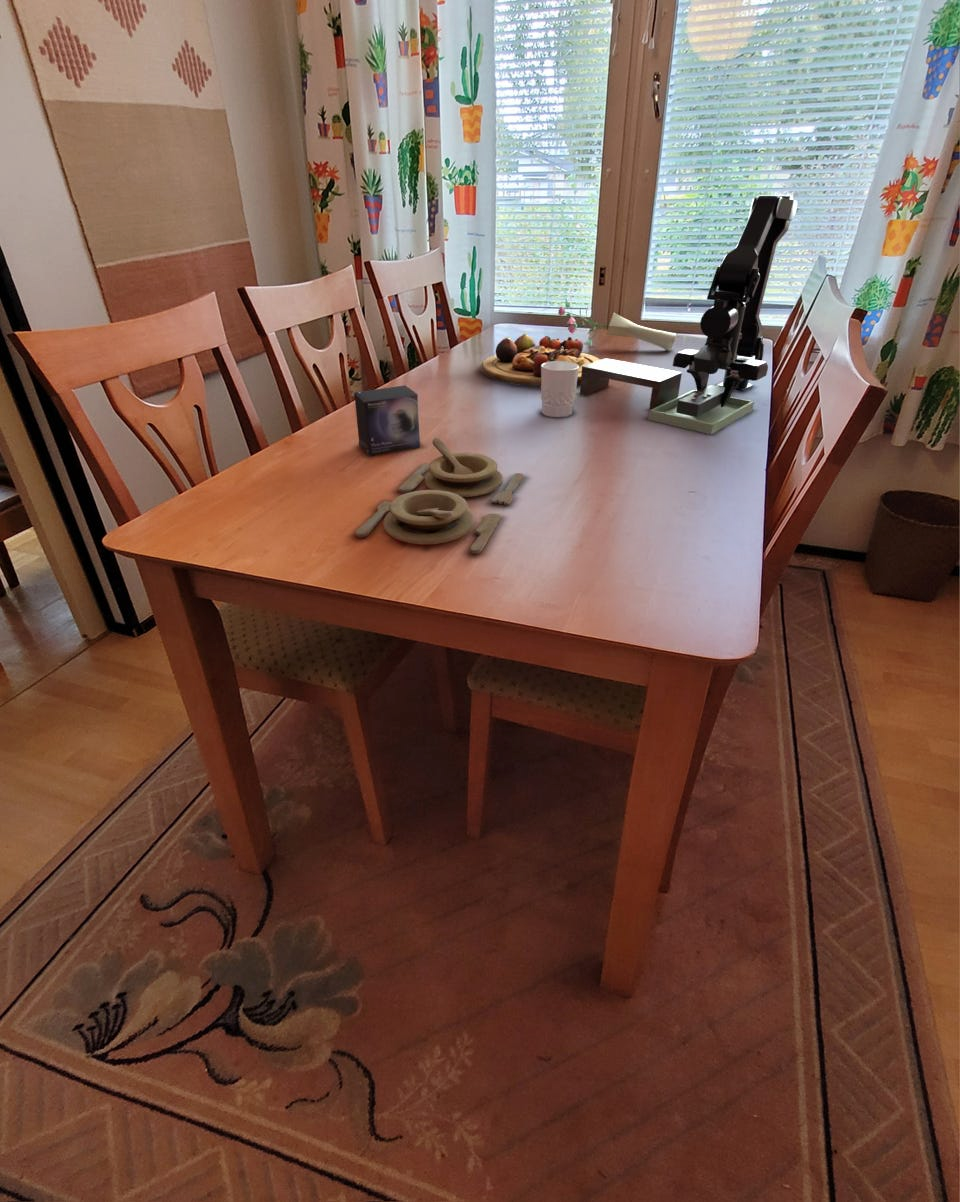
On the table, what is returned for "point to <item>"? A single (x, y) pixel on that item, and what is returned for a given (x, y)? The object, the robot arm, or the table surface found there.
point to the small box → (387, 419)
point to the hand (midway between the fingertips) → (711, 404)
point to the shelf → (631, 379)
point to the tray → (707, 420)
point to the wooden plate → (532, 359)
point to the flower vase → (625, 329)
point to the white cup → (558, 388)
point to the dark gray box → (700, 401)
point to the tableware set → (443, 500)
